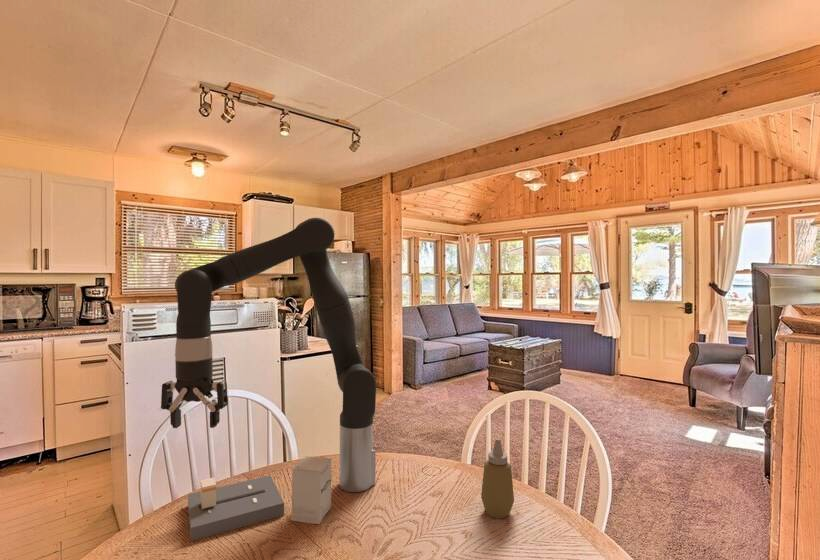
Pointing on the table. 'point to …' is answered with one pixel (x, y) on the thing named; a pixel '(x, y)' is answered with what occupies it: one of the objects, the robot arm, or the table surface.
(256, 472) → the table surface
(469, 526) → the table surface
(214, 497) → the fader
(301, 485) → the supplement box
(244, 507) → the console
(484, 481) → the squeeze bottle
